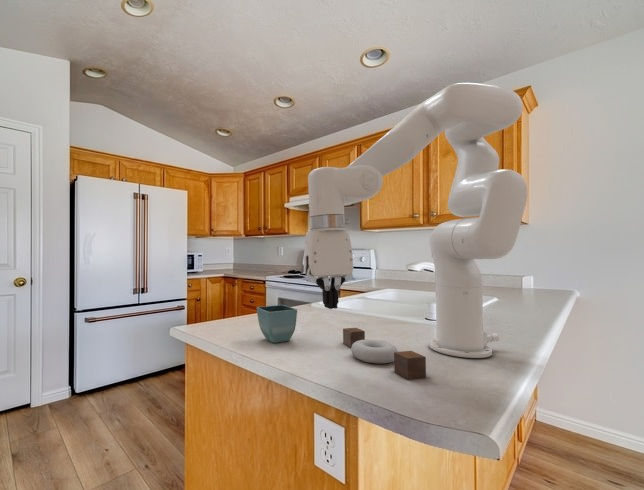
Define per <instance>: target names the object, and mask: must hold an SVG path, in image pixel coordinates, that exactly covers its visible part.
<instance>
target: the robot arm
mask: <svg viewBox="0 0 644 490" xmlns="http://www.w3.org/2000/svg"><path fill="white" fill-rule="evenodd" d="M523 109H524V106H523V101H522V98H521V96H520V95H519V94H518V93H517V92H515V91H514V90H512V89H510V88H507V87H503V86H496V85H490V84H484V83H483V84H482V83H474V82H458V83H453V84H449V85H447V86H446V87H444V88H442V89H441V90H439V91H438V92H436V93H434V94H433V95H431V96H430V97H428V98H427V99H425V100H424V101H422V102H421V103H419V104H418V105H417V106H416V107H415V108H413V110H411V111H410V112H409V113H408V114H407V115H406V116H405V117H403V119H401V120H400V121H399V122H398V123H397V124H396V125H394V126H393V127H391V129H390V130H389V131H388V132H386V133H385V134H384V135H383V136H382V137H381V138H379V139H378V140H377V141H376V142H374V143H373V144H372V145H371V146H370V147H369V148H368V149H366V150H365V151H364V152H363V153H362V154H360V155H359V156H358V157H357V158H356V159H354V160H353V161H352V162H351V163H350V164H349V165H347V166H346V167H335V166H322V167H317V168H314V169H312V170H311V171H310V172H309V173H308V175H307V189H308V190H307V191H308V209H309V210H308V211H309V213H308V214H309V231H306V234H305V239H304V250H303V252H304V253H303V272H304V274H305V275H306V276H305V281H306V282H307V283H312V284H315V285H317V286H318V287H319V289H321V291H322V294H321V295H322V304H323V306H324V308H326V309H328V310H332V309H334V310H335V309H338V304H339V290H340V289H341V287H342V285H343V284H344V283H346V282H348V281H351V280H353V278H354V275H353V272H354V254H353V248H352V241H351V238H350V234H349V231H348V229H346V228H347V226H350V224H351V221H350V219H349V218H346V216H345V207H347V206H351V205H353V204H357V203H360V202H364V201H367V200H369V199H373V198H374V197H375V196H376V195H377V194H379V192H380V191H381V190H382V188H383V184H384V179H383V178H384V176H387V175H389V174H390V173H392V172H394V171H397V170H398V169H400V168H402V167H403V166H405V165H406V164H408V163H409V162H411V161H412V160H414V159H415V158H416V156H418V155H419V154H420V153H421V152H422V151H423V150H424V149H426V147H427V146H428V145H429V144H431V143H432V142H433V141H434V140H435V139H436V138H437V137H439V136H440V135H441V134H442V133H443V134H444V136H445V139H446V141H447V143H448V144H449V145H450V147H452V149H453V151H454V152H455V154H456V157H457V165H456V170H455V174H454V176H453V180H452V184H451V186H450V187H451V188H450V191H449V195H448V198H447V208H448V210H449V212H450V213H451V214H452V215H454V216H456V217H460V218H459V219H451V220H447V221H444V222H441V223H439V224H438V225H436V226H435V227H434V228H433V229H432V231H431V233H430V237H429V247H430V251H431V255H432V258H433V264H434V280H435V281H434V282H435V286H434V287H435V328H436V329H435V331H436V338H435V339H432V340H430V341H429V348H430V349H431V350H433V351H435V352H437V353H439V354H443V355H447V356H453V357H457V358H467V359H484V358H485V359H486V358H490V357H491V356H493V349H492V348H491V347H489V346H488V343H489V342H490V343H492V342H499V341H500V336H499V334H497V333H496V332H493V333H487V332H486V331H484V307H483V306H484V303H483V302H484V301H483V299H484V298H483V277H482V273H481V271H480V268H479V266H478V264H477V263H476V261H475V260H499V259H502V258H504V257H505V256H507V255H508V254H510V252H511V251H512V250H513V248H514V246H515V245H516V241H517V238H518V235H519V232H520V227H521V223H522V221H523V217H524V213H525V210H526V209H525V208H526V206H527V202H528V186H527V183H526V181H525V178H524V177H523V175H521V173H519V172H517V171H515V170H512V169H507V168H506V169H505V168H504V169H503V168H501V169H499V167H500V156H499V153H498V152H497V151H496V149H494V147H493V146H492V145H491V144H490V143H489V142H488V141H487V140H486V139H485V137H487V136H490V135H492V134H495V133H497V132H500V131H502V130H505V129H508V128H509V127H511V126H512V125H514V124H515V123H516V122H518V120H519V119H520V118H521V115H522V113H523ZM329 277H330V278H329Z"/></svg>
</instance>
